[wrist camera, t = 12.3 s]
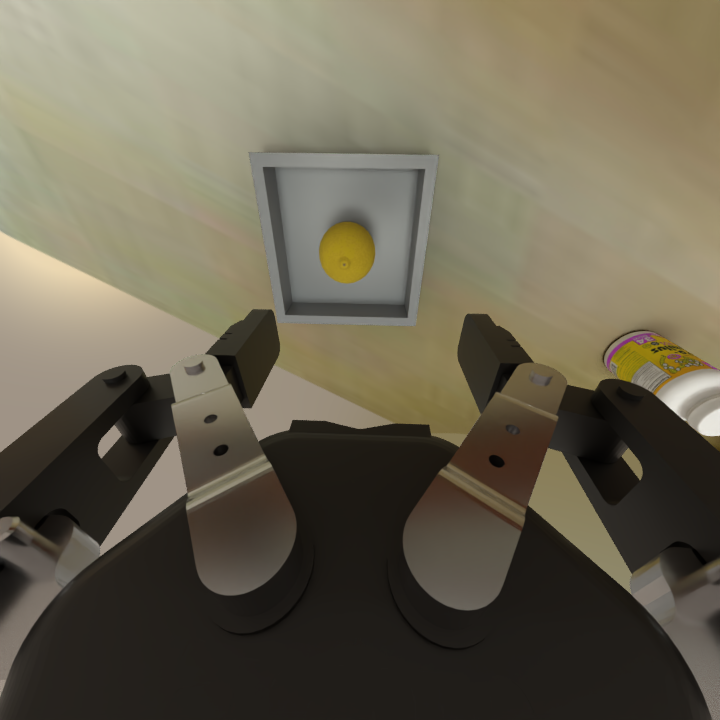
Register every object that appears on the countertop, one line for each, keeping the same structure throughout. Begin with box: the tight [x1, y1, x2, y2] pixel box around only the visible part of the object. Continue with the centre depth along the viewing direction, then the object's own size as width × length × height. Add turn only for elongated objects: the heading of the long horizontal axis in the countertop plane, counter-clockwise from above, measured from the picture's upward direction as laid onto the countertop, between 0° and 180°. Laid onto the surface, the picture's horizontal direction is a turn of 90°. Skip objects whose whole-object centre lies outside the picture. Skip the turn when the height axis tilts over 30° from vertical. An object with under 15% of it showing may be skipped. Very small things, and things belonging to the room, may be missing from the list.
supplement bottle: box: [604, 331, 720, 436], centre depth 33 cm, size 7×7×13 cm
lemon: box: [319, 222, 375, 284], centre depth 28 cm, size 6×6×8 cm
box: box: [249, 152, 439, 326], centre depth 30 cm, size 16×16×4 cm
